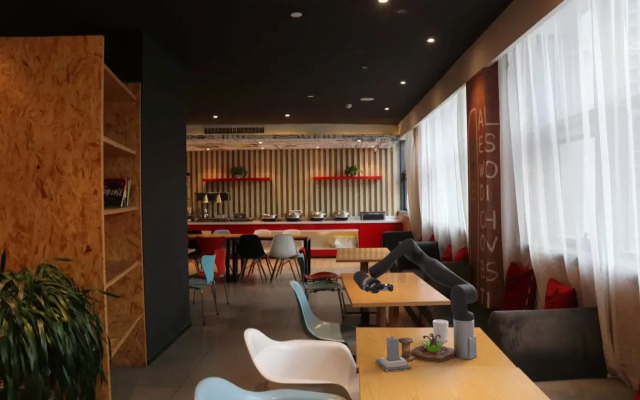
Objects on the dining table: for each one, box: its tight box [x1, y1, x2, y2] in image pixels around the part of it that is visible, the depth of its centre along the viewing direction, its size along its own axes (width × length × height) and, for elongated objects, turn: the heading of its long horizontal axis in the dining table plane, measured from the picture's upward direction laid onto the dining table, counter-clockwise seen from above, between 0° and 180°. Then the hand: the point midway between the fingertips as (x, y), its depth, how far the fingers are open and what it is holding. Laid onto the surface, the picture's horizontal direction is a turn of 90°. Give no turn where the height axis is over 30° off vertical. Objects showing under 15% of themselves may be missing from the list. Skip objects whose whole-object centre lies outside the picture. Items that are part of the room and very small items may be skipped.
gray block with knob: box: [386, 333, 400, 361], centre depth 210 cm, size 4×4×13 cm
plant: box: [410, 332, 455, 363], centre depth 224 cm, size 20×20×11 cm
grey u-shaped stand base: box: [375, 355, 412, 372], centre depth 210 cm, size 14×11×3 cm
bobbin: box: [398, 337, 414, 362], centre depth 220 cm, size 10×6×9 cm, turn 43°
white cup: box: [432, 319, 449, 343], centre depth 248 cm, size 8×8×10 cm
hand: (383, 290), depth 230 cm, fingers open, 8 cm apart
